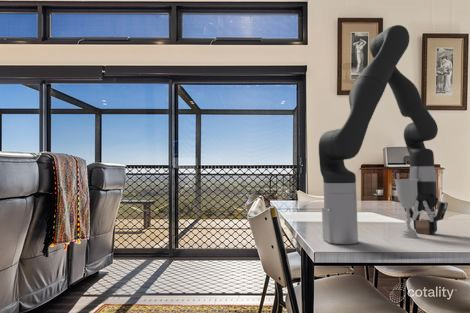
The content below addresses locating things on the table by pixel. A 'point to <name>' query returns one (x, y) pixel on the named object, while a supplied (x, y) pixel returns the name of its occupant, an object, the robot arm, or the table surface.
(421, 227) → the walnut cube
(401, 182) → the chalice
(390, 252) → the table surface
